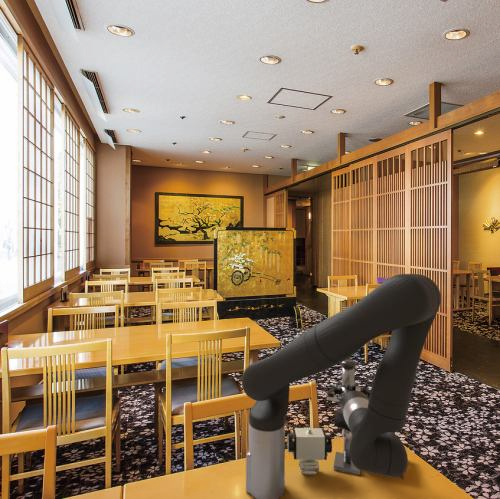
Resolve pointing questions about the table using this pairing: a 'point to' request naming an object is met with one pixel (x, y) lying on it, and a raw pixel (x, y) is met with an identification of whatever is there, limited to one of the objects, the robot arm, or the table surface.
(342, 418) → the strut
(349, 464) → the stud mount
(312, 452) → the pneumatic rotary actuator
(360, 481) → the table surface
